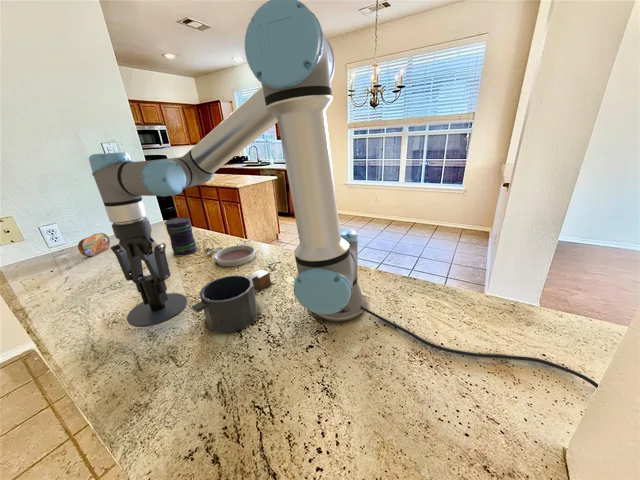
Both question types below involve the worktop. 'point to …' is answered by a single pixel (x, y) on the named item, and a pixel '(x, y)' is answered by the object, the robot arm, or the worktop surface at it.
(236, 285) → the pot
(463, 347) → the worktop surface
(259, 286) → the block
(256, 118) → the robot arm
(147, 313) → the lid
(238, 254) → the frying pan
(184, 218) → the storage jar
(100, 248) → the tin
